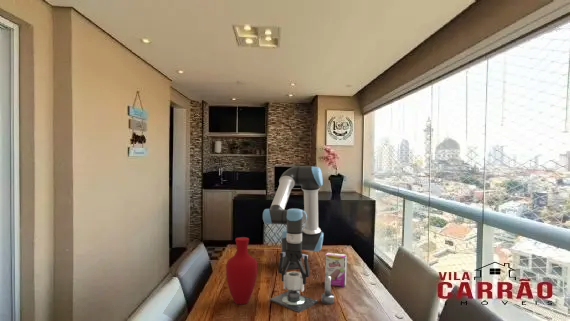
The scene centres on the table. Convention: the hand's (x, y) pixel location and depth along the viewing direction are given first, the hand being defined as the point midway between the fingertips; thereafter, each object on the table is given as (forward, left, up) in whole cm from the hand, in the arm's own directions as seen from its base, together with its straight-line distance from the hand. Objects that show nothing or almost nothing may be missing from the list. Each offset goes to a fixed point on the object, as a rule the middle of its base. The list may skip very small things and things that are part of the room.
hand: (293, 289), depth 153 cm
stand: (+12, +11, -6) cm, 17 cm away
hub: (0, 0, -6) cm, 6 cm away
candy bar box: (+3, +32, -6) cm, 33 cm away
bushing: (0, 0, +1) cm, 1 cm away
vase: (-18, -17, -6) cm, 25 cm away
